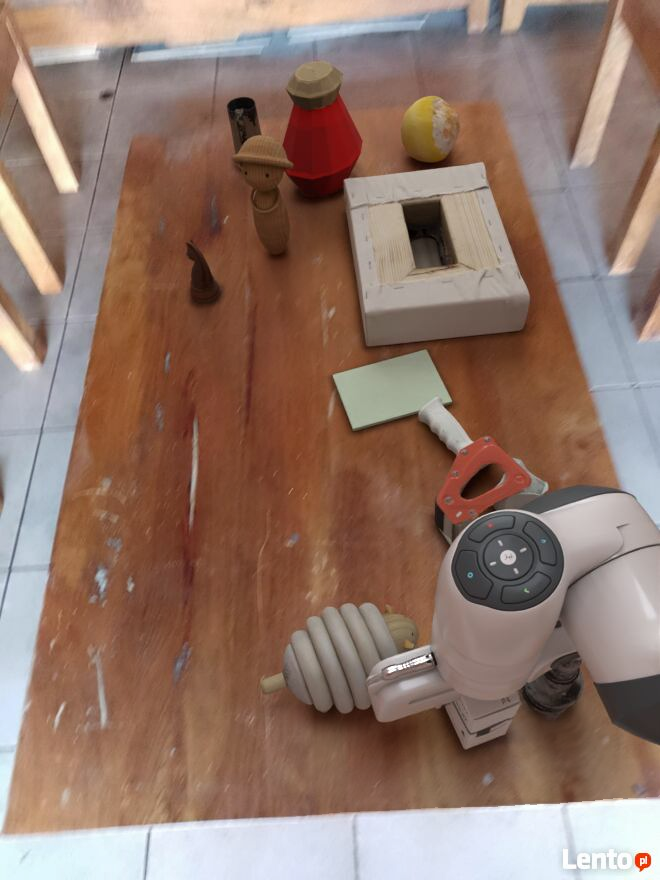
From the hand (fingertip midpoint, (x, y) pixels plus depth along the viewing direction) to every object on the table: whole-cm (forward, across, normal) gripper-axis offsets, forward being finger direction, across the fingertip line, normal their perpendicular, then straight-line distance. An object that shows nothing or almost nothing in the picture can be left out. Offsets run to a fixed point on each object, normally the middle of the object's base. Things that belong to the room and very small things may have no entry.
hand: (470, 689), depth 71 cm
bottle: (+5, +10, +91) cm, 92 cm away
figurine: (+5, -2, +76) cm, 76 cm away
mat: (+5, +6, +42) cm, 43 cm away
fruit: (+5, +30, +91) cm, 96 cm away
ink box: (+5, 0, 0) cm, 5 cm away
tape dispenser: (+5, +11, +25) cm, 28 cm away
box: (+5, +19, +64) cm, 67 cm away
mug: (+5, -1, +101) cm, 101 cm away
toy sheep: (+5, -11, +7) cm, 14 cm away
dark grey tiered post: (+5, +8, -1) cm, 10 cm away
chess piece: (+5, -15, +70) cm, 72 cm away
